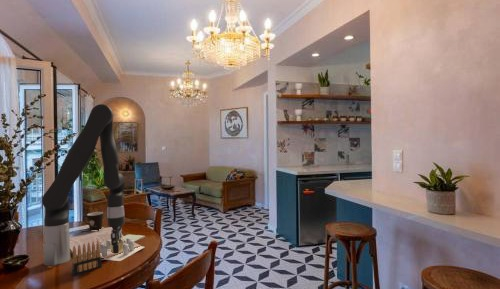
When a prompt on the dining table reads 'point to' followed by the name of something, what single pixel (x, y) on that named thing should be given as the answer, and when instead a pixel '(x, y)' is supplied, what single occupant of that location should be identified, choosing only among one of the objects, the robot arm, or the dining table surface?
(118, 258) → the spacer plate
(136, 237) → the rubber mat
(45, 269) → the dining table surface
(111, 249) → the brass nut
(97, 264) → the ammunition clip
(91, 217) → the coffee mug
